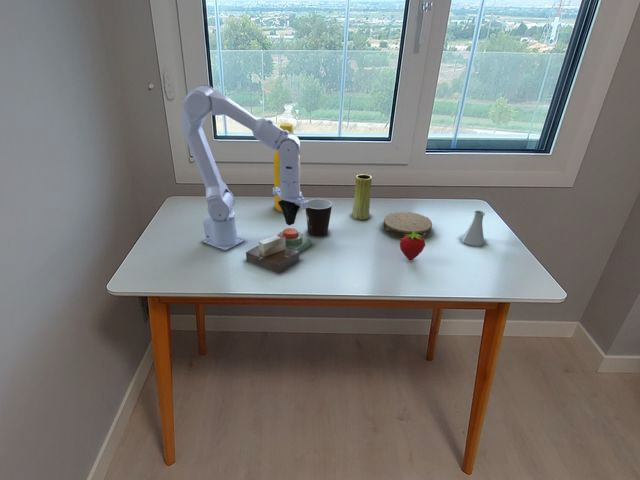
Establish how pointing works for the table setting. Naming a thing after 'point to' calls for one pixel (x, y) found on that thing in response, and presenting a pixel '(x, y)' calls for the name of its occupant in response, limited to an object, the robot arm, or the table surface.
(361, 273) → the table surface
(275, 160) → the beer bottle
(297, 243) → the button box
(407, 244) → the strawberry
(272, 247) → the cream rectangular block
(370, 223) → the table surface
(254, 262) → the switch base
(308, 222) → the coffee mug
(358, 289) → the table surface
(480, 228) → the flask
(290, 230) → the button
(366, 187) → the vase
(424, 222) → the cork coaster disc
